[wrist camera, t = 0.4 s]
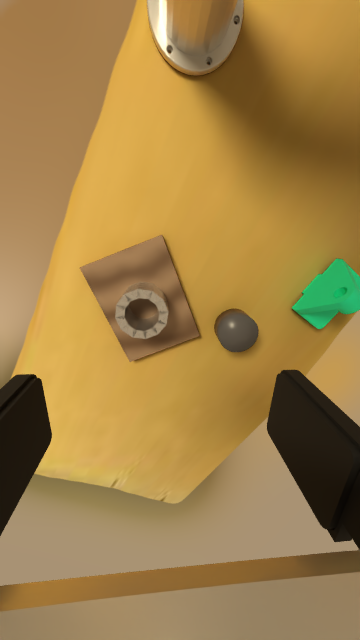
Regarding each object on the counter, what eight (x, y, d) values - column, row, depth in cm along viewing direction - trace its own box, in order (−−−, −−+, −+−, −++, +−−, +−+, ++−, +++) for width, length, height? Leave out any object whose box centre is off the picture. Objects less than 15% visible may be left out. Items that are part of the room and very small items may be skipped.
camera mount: (312, 326, 49) (349, 348, 39) (288, 306, 46) (322, 324, 37) (355, 281, 46) (407, 292, 36) (332, 258, 44) (381, 264, 34)
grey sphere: (206, 311, 45) (214, 324, 39) (239, 299, 45) (253, 309, 38) (216, 340, 48) (225, 357, 41) (247, 329, 47) (262, 344, 41)
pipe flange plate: (83, 266, 40) (65, 272, 33) (161, 234, 39) (162, 234, 32) (131, 357, 47) (125, 379, 40) (198, 331, 46) (205, 350, 39)
